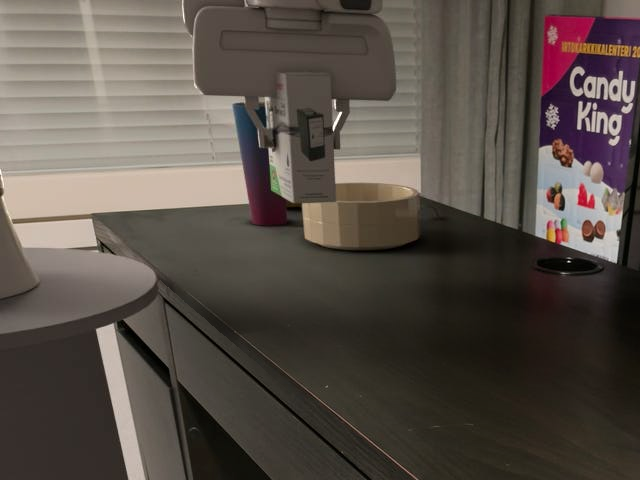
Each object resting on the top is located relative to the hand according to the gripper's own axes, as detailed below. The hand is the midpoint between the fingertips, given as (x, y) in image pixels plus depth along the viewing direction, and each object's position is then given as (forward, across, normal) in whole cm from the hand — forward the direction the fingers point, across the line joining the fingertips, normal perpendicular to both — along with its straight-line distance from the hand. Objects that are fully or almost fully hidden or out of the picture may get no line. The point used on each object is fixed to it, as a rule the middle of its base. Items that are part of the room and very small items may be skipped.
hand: (300, 148), depth 97 cm
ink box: (+5, 0, 0) cm, 5 cm away
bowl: (+14, +9, +24) cm, 29 cm away
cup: (+14, -3, +38) cm, 41 cm away
